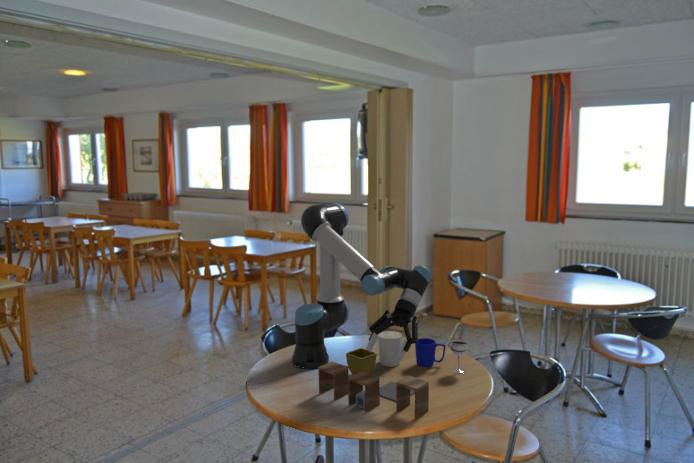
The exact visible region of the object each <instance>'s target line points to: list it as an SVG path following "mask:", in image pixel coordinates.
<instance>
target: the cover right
mask: <svg viewBox="0 0 694 463" xmlns="http://www.w3.org/2000/svg"><path fill="white" fill-rule="evenodd" d="M395 383H396V401H395V402H396V403H395V404H396V407H395V408H396V412H400V411H402V410H404V409H405V408H407V407H408V406H410V405H411V396H410V390H413V391H415V393H414V418H415V419H418V418H420V417H421V416H422V415H424V414H426V413H428V412H429V411H430V410H429V403H430V402H429V401H430V399H429V394H430V393H429V391H430V390H429V389H430V388H429V386H430V384H429V383H430V382H429V381H427V380H424V379H421V378H418V377H414V376H411V375H406V377H403V378H402V379H399V380H398V381H396V382H395Z"/></svg>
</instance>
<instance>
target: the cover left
mask: <svg viewBox="0 0 694 463" xmlns="http://www.w3.org/2000/svg"><path fill="white" fill-rule="evenodd" d="M317 369H318V370H317V371H318V394H319V395H323V394H324V393H326V391H327V392H328V391H330V390H333V400H334V401H336V400H339V399H341V398H343V397H345V396H348V377H350V375H349V368H348V365H344V364H341V363H337V362H335V361H329V362H328V363H327V364H325V365H322V366H320V367H318V368H317Z"/></svg>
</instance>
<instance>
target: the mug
mask: <svg viewBox="0 0 694 463" xmlns="http://www.w3.org/2000/svg"><path fill="white" fill-rule="evenodd" d="M439 346H441V347H443V351H442V356H441V358H440V359H438V360H437V359H436V349H437V347H439ZM414 348H415V359H416V360H415V362H416V365H418V367H420V368H431V367H432V366H434V363H437V364H438V363H442V362H443V361H444V357H445V354H446V344H444V343H439V342H438V343H436V340H434V339H432V338H427V337H421V338H420V337H419V338H418V343H417V344H415V343H414Z"/></svg>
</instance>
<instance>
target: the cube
mask: <svg viewBox="0 0 694 463" xmlns="http://www.w3.org/2000/svg"><path fill="white" fill-rule="evenodd" d="M355 406H356V407H359V408H361V409H364V410H365V390H363V391H362V392H360V393H358V394H356V403H355Z"/></svg>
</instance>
